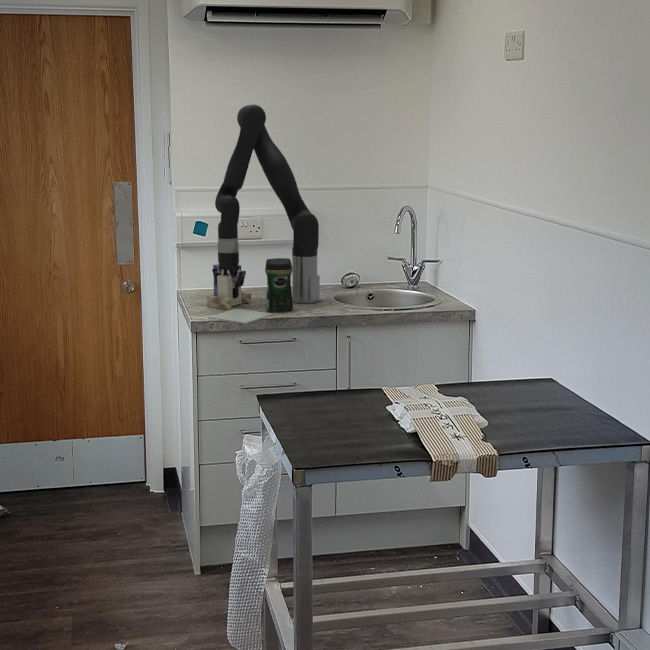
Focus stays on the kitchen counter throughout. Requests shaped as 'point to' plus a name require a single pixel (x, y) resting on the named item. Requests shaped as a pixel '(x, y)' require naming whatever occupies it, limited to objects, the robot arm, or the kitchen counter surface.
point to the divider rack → (226, 301)
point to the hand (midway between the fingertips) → (229, 297)
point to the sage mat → (240, 316)
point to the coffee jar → (279, 285)
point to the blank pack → (227, 289)
